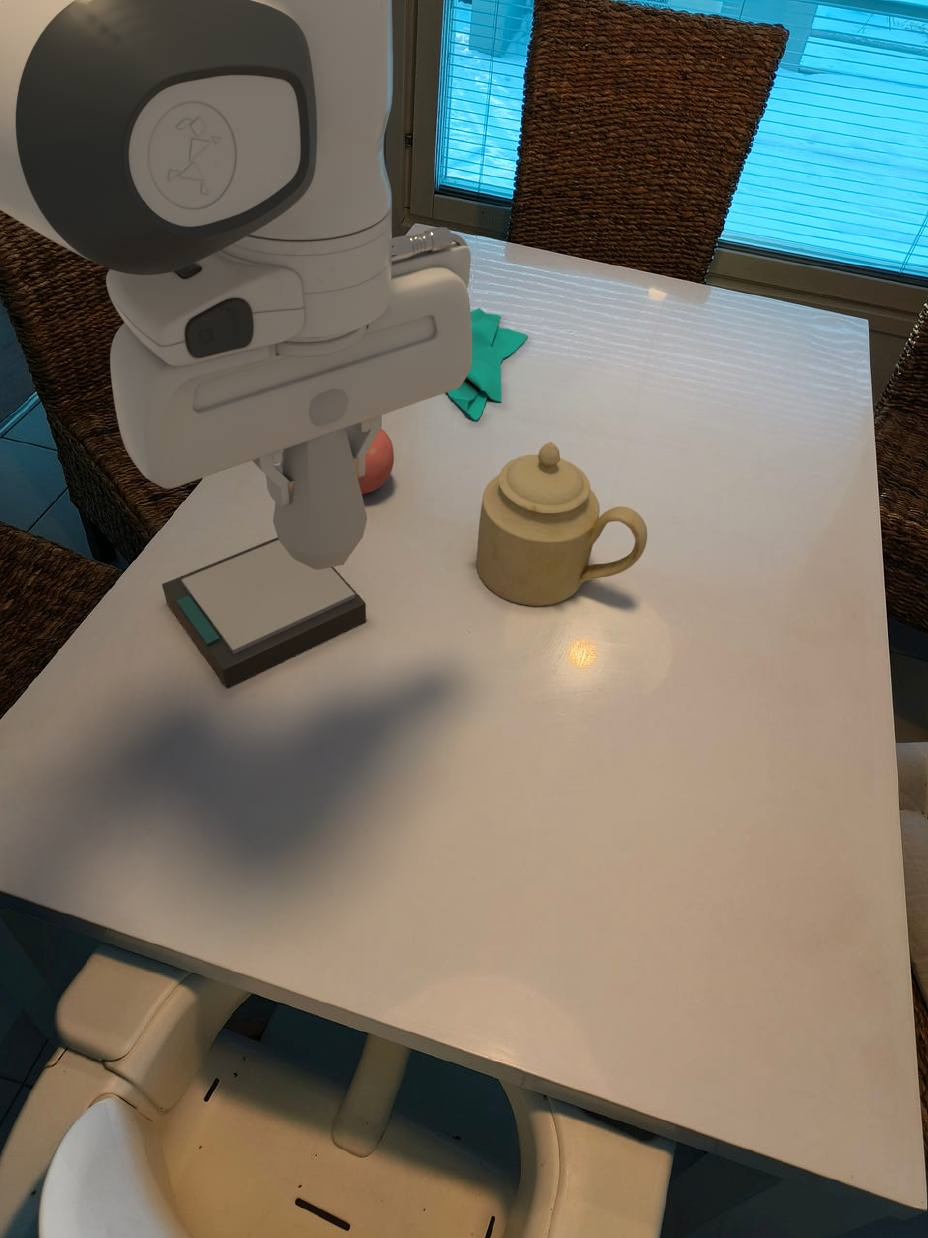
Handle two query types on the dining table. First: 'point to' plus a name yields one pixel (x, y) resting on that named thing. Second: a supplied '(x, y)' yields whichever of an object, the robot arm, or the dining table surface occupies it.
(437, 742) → the dining table surface
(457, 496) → the dining table surface
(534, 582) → the sugar bowl
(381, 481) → the apple
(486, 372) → the cloth
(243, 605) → the scale
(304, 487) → the salt shaker
